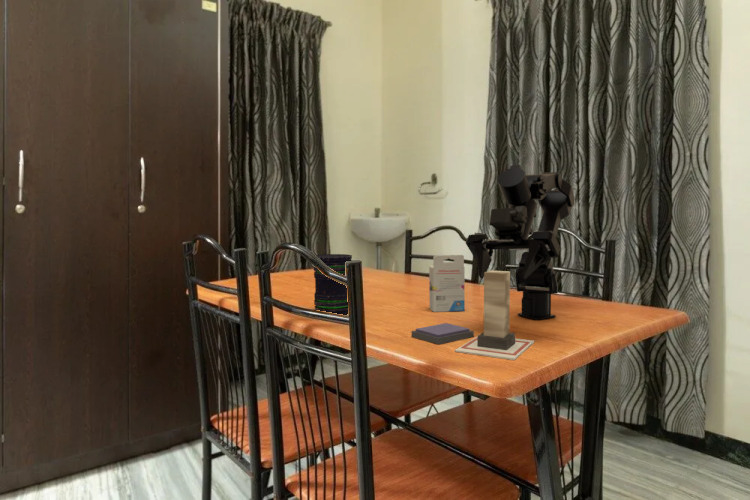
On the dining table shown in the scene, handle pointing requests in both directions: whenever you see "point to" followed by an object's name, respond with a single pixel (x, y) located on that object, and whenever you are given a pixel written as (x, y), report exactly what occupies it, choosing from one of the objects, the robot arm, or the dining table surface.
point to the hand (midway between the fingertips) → (501, 277)
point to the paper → (497, 353)
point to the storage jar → (331, 286)
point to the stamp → (496, 312)
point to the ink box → (447, 284)
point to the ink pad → (442, 333)
